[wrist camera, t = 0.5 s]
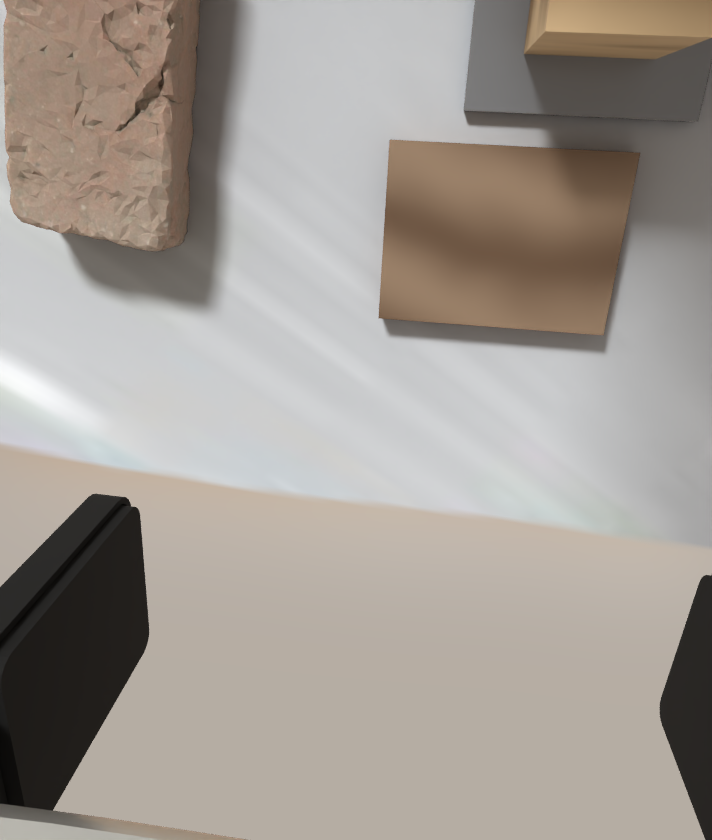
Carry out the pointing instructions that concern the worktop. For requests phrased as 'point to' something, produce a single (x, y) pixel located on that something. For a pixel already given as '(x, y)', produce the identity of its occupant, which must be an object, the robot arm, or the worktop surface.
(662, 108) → the pad
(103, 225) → the brick
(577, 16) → the oak block
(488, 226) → the walnut board
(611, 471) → the worktop surface
